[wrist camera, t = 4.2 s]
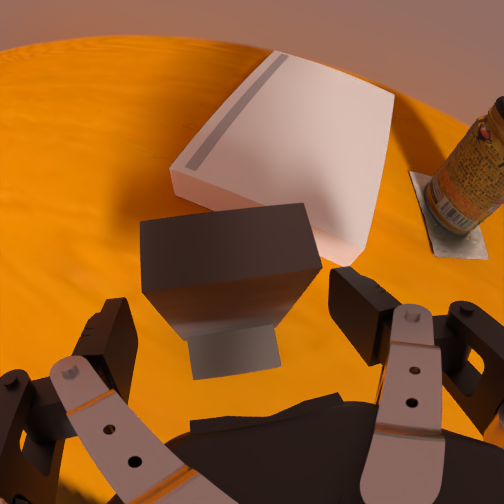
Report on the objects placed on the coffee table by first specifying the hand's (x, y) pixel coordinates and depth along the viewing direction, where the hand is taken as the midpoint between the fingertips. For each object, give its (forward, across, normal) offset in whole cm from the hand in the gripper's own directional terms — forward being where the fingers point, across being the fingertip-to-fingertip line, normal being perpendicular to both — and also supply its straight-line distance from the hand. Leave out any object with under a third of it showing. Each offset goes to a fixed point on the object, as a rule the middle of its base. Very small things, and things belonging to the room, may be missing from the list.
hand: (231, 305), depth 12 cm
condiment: (+9, -21, +1) cm, 23 cm away
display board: (+15, -8, -6) cm, 18 cm away
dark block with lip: (+5, 0, +5) cm, 7 cm away
